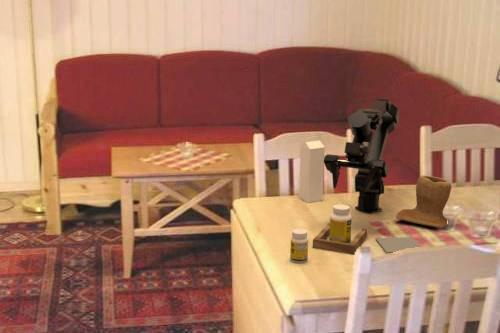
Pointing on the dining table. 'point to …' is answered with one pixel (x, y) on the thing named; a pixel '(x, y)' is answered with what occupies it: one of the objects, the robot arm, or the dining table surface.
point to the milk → (311, 170)
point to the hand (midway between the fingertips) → (349, 189)
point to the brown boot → (428, 202)
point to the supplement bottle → (299, 246)
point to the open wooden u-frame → (337, 246)
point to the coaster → (396, 243)
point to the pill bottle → (340, 224)
